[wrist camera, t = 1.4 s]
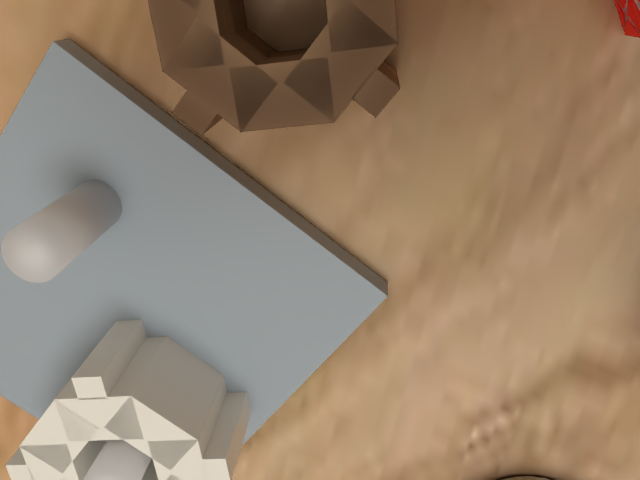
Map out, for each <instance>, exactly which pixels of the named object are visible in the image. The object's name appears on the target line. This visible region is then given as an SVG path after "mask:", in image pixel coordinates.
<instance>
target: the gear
mask: <svg viewBox="0 0 640 480" xmlns="http://www.w3.org/2000/svg"><path fill="white" fill-rule="evenodd" d="M250 416H251V408H250V403H249V398H248V393H247V392H234V393H227V389H226V384H225V379H224V375H222V374H221V373H220V372H218V371H217V370H215V369H214V368H212V367H211V366H209V365H208V364H206V363H205V362H204V361H202V360H201V359H199V358H198V357H196V356H195V355H193V354H192V353H190V352H189V351H188V350H186V349H185V348H183V347H182V346H180V345H179V344H177V343H176V342H174V341H173V340H172V339H170V338H169V337H168V336H166V337H149V338H147V337H146V333H145V329H144V326H143V322H142V319H140V320H123V321H116V322H115V323H114V324H113V326H112V327H111V328H110V330H109V331H108V332H107V333H106V335H105V336H104V337H103V338H102V340H101V341H100V342H99V343H98V345H97V346H96V347H95V348H94V350H93V351H92V352H91V353H90V355H89V356H88V357H87V358H86V360H85V361H84V362H83V363H82V365H81V366H80V367H79V369H78V370H77V371H76V372H75V374H74V375H73V376H72V377H71V379H70V380H69V381H68V382H67V384H66V385H65V386H64V387H63V389H62V390H61V391H60V393H59V394H58V395H57V396H56V398H55V399H54V401H53V402H52V404H51V405H50V406H49V407H48V409H47V410H46V411H45V413H44V414H43V415H42V417H41V418H40V419H39V421H38V422H37V423H36V425H35V426H34V427H33V429H32V430H31V431H30V433H29V434H28V435H27V437H26V438H25V439H24V440H23V442H22V443H21V444H20V445H19V449H18V450H17V451H16V453H15V454H14V455H13V456H12V458H11V459H10V460H9V461H8V463H7V464H6V468H7V470H8V473H9V475H10V478H11V480H83V479H84V477H85V476H86V474H87V472H88V471H89V469H90V467H91V466H92V464H93V462H94V461H95V459H96V457H97V456H98V454H99V452H100V451H101V449H102V447H103V446H104V444H105V442H106V441H107V440H124V441H126V442H127V443H129V444H130V445H132V446H133V447H135V448H137V449H138V450H140V451H141V452H143V453H144V454H146V455H147V456H149V457H151V458H152V459H151V461H150V463H149V465H148V467H147V469H146V471H145V473H144V475H143V477H142V480H231V479H232V476H233V473H234V470H235V466H236V463H237V460H238V456H239V453H240V450H241V446H242V443H243V440H244V436H245V433H246V430H247V426H248V423H249V420H250Z"/></svg>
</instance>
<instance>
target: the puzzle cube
mask: <svg viewBox="0 0 640 480" xmlns="http://www.w3.org/2000/svg"><path fill="white" fill-rule="evenodd" d="M614 2H615V5H616V8H617V11H618V14H619V17H620V20H621V23H622V26H623V29H624V31H625V35H629V36H634V37H639V38H640V0H614Z"/></svg>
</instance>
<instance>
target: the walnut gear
mask: <svg viewBox="0 0 640 480" xmlns="http://www.w3.org/2000/svg"><path fill="white" fill-rule="evenodd" d="M148 4H149V9H150V13H151V18H152V23H153V28H154V32H155V37H156V42H157V46H158V51H159V56H160V61H161V65H162V71H163V72H164V73H166V74H167V75H168V76H170V77H171V78H172V79H173V80H175V81H176V82H177V83H179V84H180V85H181V86H182V87H184V88H185V89H186V90H187V91H186V93H185V94H184V96H183V97H182V99H181V100H180V102H179V103H178V105H177V106H176V108H175V109H174V110H173V112H172V113H173V114H174V115H175V116H177V117H178V118H179V119H181V120H182V121H183V122H185V123H186V124H187V125H188V126H190V127H191V128H192V129H194V130H195V131H196V132H198V133H199V134H200V135H203V134H204V133H205V132H206V131H208V130H209V129H210V128H211V127H212V126H214V125H215V124H216V123H217V122H219V121H220V120H221V119H222V118H224V119H225V120H226V121H227V122H229V123H230V124H231V125H232V126H234V127H235V128H236V129H238V130H239V131H240V132H245V131H255V130H265V129H275V128H284V127H294V126H304V125H314V124H324V123H334V122H335V121H336V119H337V118H338V117H339V116H340V115H341V113H342V112H343V111H344V110H345V108H346V107H347V106H348V105H349V103H350V102H351V101H352V100H355V101H356V102H357V103H358V104H359V105H361V106H362V107H363V108H364V109H366V110H367V111H368V112H369V113H370V114H372V115H373V116H374V117H375V118H376V117H377V115H378V114H379V113H380V112H381V111H382V109H383V108H384V107H385V106H386V105H387V103H388V102H389V101H390V100H391V99H392V97H393V96H394V95H395V94H396V93H397V91H398V90H399V89H400V85H399V80H398V76H397V71H396V70H395V69H393V68H392V67H391V66H390V65H389V64H387V63H386V62H385V61H384V60H385V59H386V57H387V56H388V55H389V54H390V52H391V51H392V50H393V49H394V47H395V46H396V45H397V44H398V41H397V26H396V12H395V0H326V8H327V17H328V23H327V25H326V26H325V27H324V29H323V30H322V31H321V33H320V34H319V35H318V37H317V38H316V39H315V41H314V42H313V43H312V45H311V46H310V47H309V49H300V50H292V51H284V52H276V51H275V50H274V49H272V48H271V47H270V46H269V45H267V44H266V43H265V42H264V41H263V40H261V39H260V38H259V37H258V36H256V35H255V34H254V33H253V32H252V31H250V30H249V29H248V28H247V24H246V17H245V11H244V5H243V0H148Z"/></svg>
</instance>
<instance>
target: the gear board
mask: <svg viewBox="0 0 640 480" xmlns="http://www.w3.org/2000/svg"><path fill="white" fill-rule="evenodd" d="M387 296H388V284H387V282H386V281H385V280H384V279H382V278H381V277H380V276H379V275H377V274H376V273H375V272H373V271H372V270H371V269H369V268H368V267H367V266H365V265H364V264H363V263H362V262H360V261H359V260H358V259H356V258H355V257H354V256H352V255H351V254H350V253H348V252H347V251H346V250H345V249H343V248H342V247H341V246H339V245H338V244H337V243H335V242H334V241H333V240H332V239H330V238H329V237H328V236H326V235H325V234H324V233H322V232H321V231H320V230H318V229H317V228H316V227H315V226H313V225H312V224H311V223H309V222H308V221H307V220H305V219H304V218H303V217H301V216H300V215H299V214H298V213H296V212H295V211H294V210H292V209H291V208H290V207H288V206H287V205H286V204H285V203H283V202H282V201H281V200H279V199H278V198H277V197H275V196H274V195H273V194H271V193H270V192H269V191H268V190H266V189H265V188H264V187H262V186H261V185H260V184H258V183H257V182H256V181H254V180H253V179H252V178H251V177H249V176H248V175H247V174H245V173H244V172H243V171H241V170H240V169H239V168H237V167H236V166H235V165H234V164H232V163H231V162H230V161H228V160H227V159H226V158H224V157H223V156H222V155H221V154H219V153H218V152H217V151H215V150H214V149H213V148H211V147H210V146H209V145H207V144H206V143H205V142H204V141H202V140H201V139H200V138H198V137H197V136H196V135H194V134H193V133H192V132H190V131H189V130H188V129H187V128H185V127H184V126H183V125H181V124H180V123H179V122H177V121H176V120H175V119H174V118H172V117H171V116H170V115H168V114H167V113H166V112H164V111H163V110H162V109H160V108H159V107H158V106H157V105H155V104H154V103H153V102H151V101H150V100H149V99H147V98H146V97H145V96H143V95H142V94H141V93H140V92H138V91H137V90H136V89H134V88H133V87H132V86H130V85H129V84H128V83H126V82H125V81H124V80H123V79H121V78H120V77H119V76H117V75H116V74H115V73H113V72H112V71H111V70H110V69H108V68H107V67H106V66H104V65H103V64H102V63H100V62H99V61H98V60H96V59H95V58H94V57H93V56H91V55H90V54H89V53H87V52H86V51H85V50H83V49H82V48H81V47H79V46H78V45H77V44H76V43H74V42H73V41H72V40H70V39H65V40H59V41H53V43H52V44H51V46H50V48H49V50H48V51H47V53H46V55H45V57H44V59H43V60H42V62H41V64H40V66H39V68H38V69H37V71H36V73H35V75H34V77H33V78H32V80H31V82H30V84H29V86H28V87H27V89H26V91H25V93H24V95H23V96H22V98H21V100H20V102H19V104H18V105H17V107H16V109H15V111H14V113H13V114H12V116H11V118H10V120H9V121H8V123H7V125H6V127H5V129H4V130H3V132H2V134H1V136H0V395H1V396H3V397H4V398H6V399H7V400H9V401H11V402H12V403H14V404H15V405H17V406H19V407H20V408H22V409H23V410H25V411H26V412H28V413H30V414H31V415H33V416H34V417H36V418H38V419H40V418H41V417H42V415H43V414H44V413H45V411H46V410H47V409H48V407H49V406H50V405H51V404H52V402H53V401H54V399H55V398H56V396H57V395H58V394H59V393H60V391H61V390H62V389H63V387H64V386H65V385H66V384H67V382H68V381H69V380H70V379H71V377H72V376H73V375H74V374H75V372H76V371H77V370H78V369H79V367H80V366H81V365H82V363H83V362H84V361H85V360H86V358H87V357H88V356H89V355H90V353H91V352H92V351H93V350H94V348H95V347H96V346H97V345H98V343H99V342H100V341H101V340H102V338H103V337H104V336H105V335H106V333H107V332H108V331H109V330H110V328H111V327H112V326H113V324H114V323H115V322H116V321H123V320H140V319H142V322H143V326H144V329H145V333H146V337H147V338H149V337H166V336H168V337H169V338H170V339H172V340H173V341H174V342H176V343H177V344H179V345H180V346H182V347H183V348H185V349H186V350H188V351H189V352H190V353H192V354H193V355H195V356H196V357H198V358H199V359H201V360H202V361H204V362H205V363H206V364H208V365H209V366H211V367H212V368H214V369H215V370H217V371H218V372H220V373H221V374H222V375H224V379H225V384H226V389H227V393H234V392H247V393H248V398H249V403H250V408H251V416H250V420H249V423H248V426H247V430H246V433H245V436H244V440H243V443H242V445H243V444H244V443H245V442H246V441H247V440H248V439H249V438H250V437H251V436H252V435H253V434H254V433H255V432H256V431H257V430H258V429H259V428H260V427H261V426H262V425H263V424H264V423H265V422H266V421H267V420H268V418H269V417H270V416H271V415H272V414H273V413H274V412H275V411H276V410H277V409H278V408H279V407H280V406H281V405H282V404H283V403H284V402H285V401H286V400H287V399H288V398H289V397H290V396H291V395H292V394H293V393H294V392H295V391H296V390H297V389H298V388H299V387H300V386H301V385H302V384H303V383H304V382H305V381H306V380H307V379H308V377H309V376H310V375H311V374H312V373H313V372H314V371H315V370H316V369H317V368H318V367H319V366H320V365H321V364H322V363H323V362H324V361H325V360H326V359H327V358H328V357H329V356H330V355H331V354H332V353H333V352H334V351H335V350H336V349H337V348H338V347H339V346H340V345H341V344H342V343H343V342H344V341H345V340H346V339H347V337H348V336H349V335H350V334H351V333H352V332H353V331H354V330H355V329H356V328H357V327H358V326H359V325H360V324H361V323H362V322H363V321H364V320H365V319H366V318H367V317H368V316H369V315H370V314H371V313H372V312H373V311H374V310H375V309H376V308H377V307H378V306H379V305H380V304H381V303H382V302H383V301H384V300H385V299H386V298H387ZM151 459H152V458H151V457H149V456H147V455H146V454H144V453H143V452H141V451H140V450H138V449H137V448H135V447H133V446H132V445H130V444H129V443H127V442H126V441H124V440H107V441H106V442H105V444H104V446H103V447H102V449H101V451H100V452H99V454H98V456H97V457H96V459H95V461H94V462H93V464H92V466H91V467H90V469H89V471H88V472H87V474H86V476H85V477H84V479H83V480H142V477H143V475H144V473H145V471H146V469H147V467H148V465H149V463H150V461H151Z"/></svg>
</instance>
